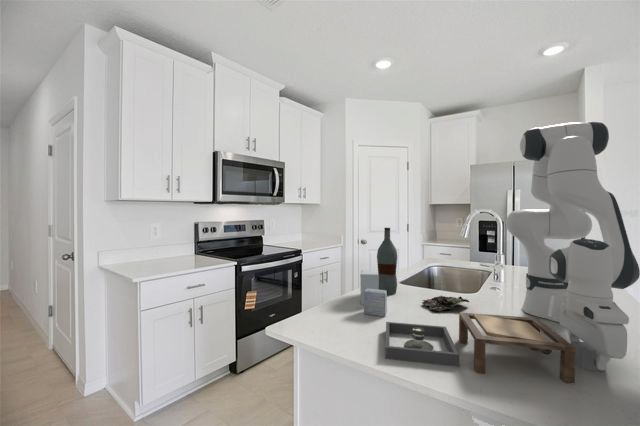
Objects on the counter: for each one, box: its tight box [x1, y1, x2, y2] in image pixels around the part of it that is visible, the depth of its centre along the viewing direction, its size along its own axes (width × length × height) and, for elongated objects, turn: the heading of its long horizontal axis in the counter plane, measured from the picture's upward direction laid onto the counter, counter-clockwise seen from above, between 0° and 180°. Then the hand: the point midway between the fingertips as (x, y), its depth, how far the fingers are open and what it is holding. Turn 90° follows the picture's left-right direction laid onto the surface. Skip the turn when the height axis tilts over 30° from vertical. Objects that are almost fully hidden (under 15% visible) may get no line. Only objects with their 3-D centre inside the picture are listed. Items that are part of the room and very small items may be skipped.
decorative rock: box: [421, 295, 470, 312], centre depth 122 cm, size 19×6×15 cm
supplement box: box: [359, 270, 379, 305], centre depth 127 cm, size 7×7×13 cm
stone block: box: [570, 341, 607, 373], centre depth 77 cm, size 5×5×5 cm
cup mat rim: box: [385, 321, 460, 367], centre depth 87 cm, size 18×18×3 cm
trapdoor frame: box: [458, 312, 576, 384], centre depth 80 cm, size 21×18×8 cm
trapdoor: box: [473, 313, 553, 355], centre depth 80 cm, size 15×13×3 cm
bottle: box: [376, 227, 398, 296], centre depth 141 cm, size 9×9×30 cm
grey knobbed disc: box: [404, 327, 434, 350], centre depth 87 cm, size 12×12×5 cm
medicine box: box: [363, 289, 388, 317], centre depth 113 cm, size 8×4×9 cm, turn 71°
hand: (587, 358), depth 77 cm, fingers open, 8 cm apart
